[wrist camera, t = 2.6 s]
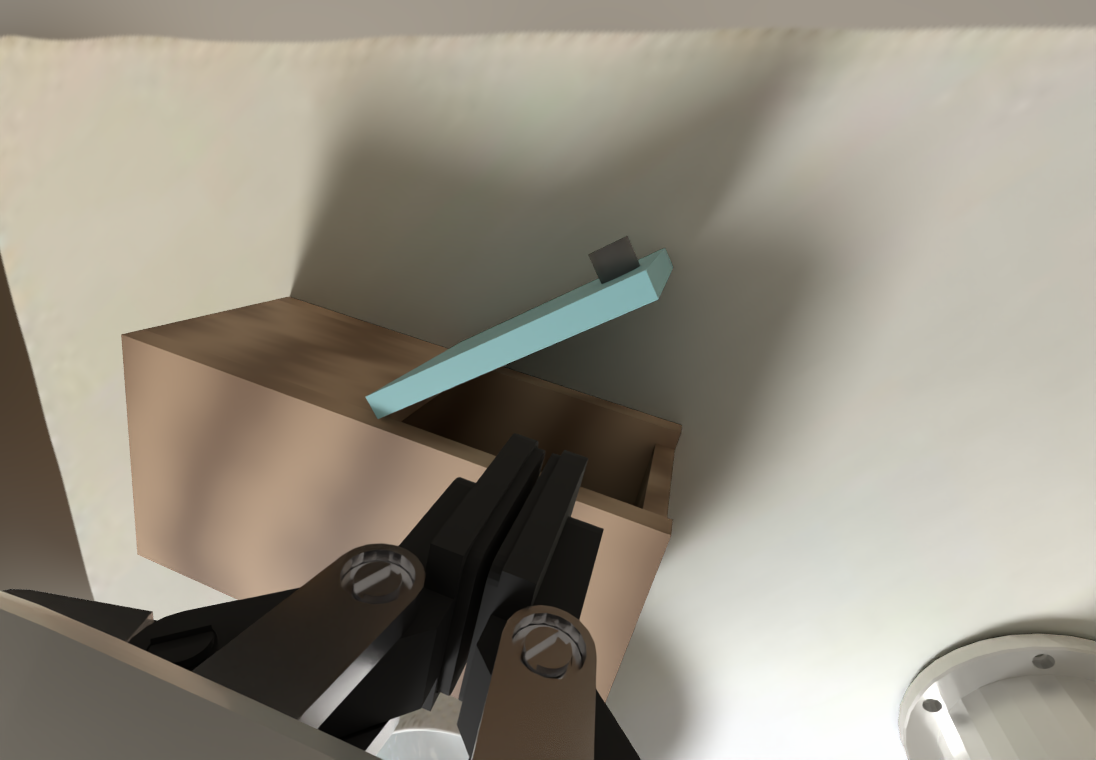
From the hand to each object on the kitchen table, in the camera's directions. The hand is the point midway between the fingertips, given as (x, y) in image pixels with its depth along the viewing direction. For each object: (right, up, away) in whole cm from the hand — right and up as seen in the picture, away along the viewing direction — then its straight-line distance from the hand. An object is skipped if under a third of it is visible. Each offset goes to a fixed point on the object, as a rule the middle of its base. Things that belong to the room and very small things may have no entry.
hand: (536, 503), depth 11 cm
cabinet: (-5, -1, +20) cm, 21 cm away
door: (+1, +7, +15) cm, 17 cm away
